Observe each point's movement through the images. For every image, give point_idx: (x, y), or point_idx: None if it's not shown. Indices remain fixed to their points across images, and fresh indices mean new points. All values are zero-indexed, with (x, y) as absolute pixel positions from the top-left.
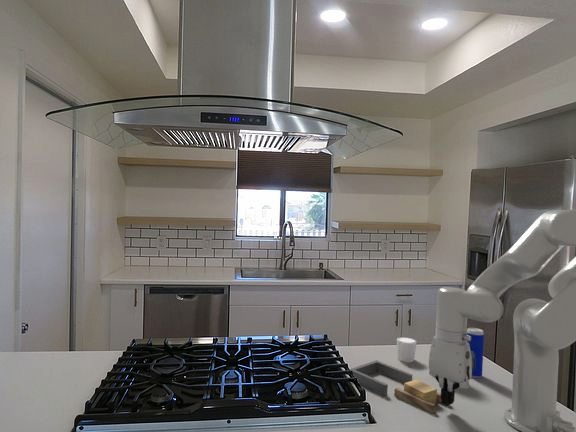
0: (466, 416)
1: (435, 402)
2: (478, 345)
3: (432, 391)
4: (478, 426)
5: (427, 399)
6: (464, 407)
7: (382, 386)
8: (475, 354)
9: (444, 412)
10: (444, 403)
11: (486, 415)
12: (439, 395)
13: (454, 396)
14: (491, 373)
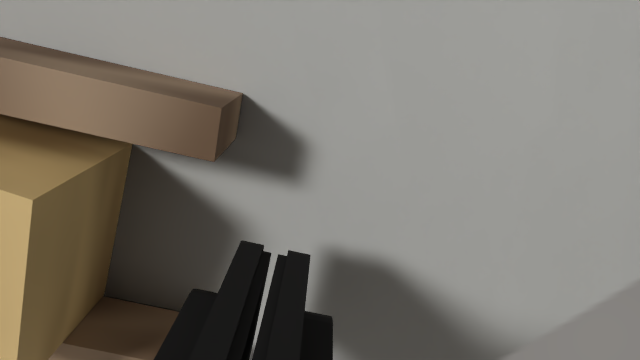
0: (442, 222)
1: (127, 156)
2: None
3: (34, 275)
4: (550, 317)
5: (75, 295)
6: (390, 41)
7: None
8: None
9: (267, 274)
10: (251, 348)
11: (624, 66)
12: (110, 138)
13: (331, 354)
14: None
